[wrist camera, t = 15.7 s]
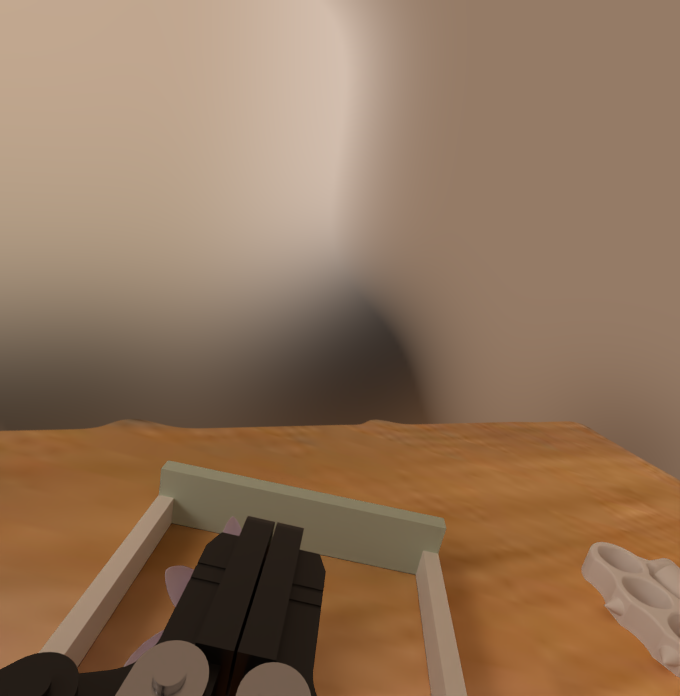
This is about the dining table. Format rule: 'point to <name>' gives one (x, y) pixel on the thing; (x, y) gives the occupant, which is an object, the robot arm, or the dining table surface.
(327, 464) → the dining table surface
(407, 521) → the grey u-shaped frame
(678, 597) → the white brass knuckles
